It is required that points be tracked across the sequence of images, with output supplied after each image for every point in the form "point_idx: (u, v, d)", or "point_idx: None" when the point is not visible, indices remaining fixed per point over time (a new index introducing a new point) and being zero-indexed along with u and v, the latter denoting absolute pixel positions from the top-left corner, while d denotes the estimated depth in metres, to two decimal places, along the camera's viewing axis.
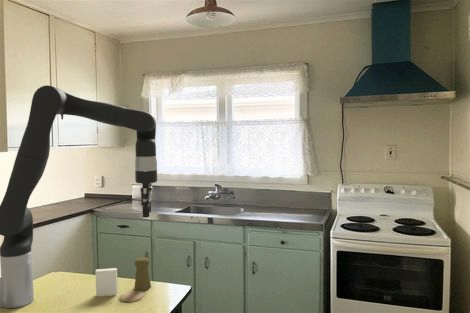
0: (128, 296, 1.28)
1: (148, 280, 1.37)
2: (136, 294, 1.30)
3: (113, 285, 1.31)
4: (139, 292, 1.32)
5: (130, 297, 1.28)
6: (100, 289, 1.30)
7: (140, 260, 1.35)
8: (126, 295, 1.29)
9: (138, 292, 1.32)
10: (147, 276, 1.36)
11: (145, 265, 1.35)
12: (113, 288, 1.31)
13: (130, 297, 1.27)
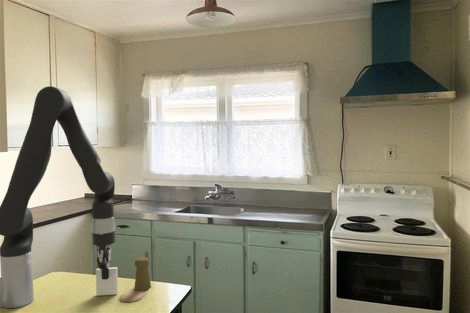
0: (128, 296, 1.28)
1: (148, 280, 1.37)
2: (136, 294, 1.30)
3: (113, 284, 1.32)
4: (139, 292, 1.32)
5: (130, 297, 1.28)
6: (100, 288, 1.31)
7: (140, 260, 1.35)
8: (126, 295, 1.29)
9: (138, 292, 1.32)
10: (147, 276, 1.36)
11: (145, 265, 1.35)
12: (113, 287, 1.31)
13: (130, 297, 1.27)
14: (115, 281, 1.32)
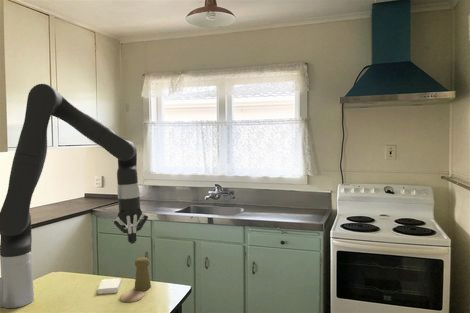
0: (128, 296, 1.28)
1: (148, 280, 1.37)
2: (136, 294, 1.30)
3: (116, 283, 1.37)
4: (139, 292, 1.32)
5: (130, 297, 1.28)
6: (103, 286, 1.35)
7: (140, 260, 1.35)
8: (126, 295, 1.29)
9: (138, 292, 1.32)
10: (147, 276, 1.36)
11: (145, 265, 1.35)
12: (115, 285, 1.36)
13: (130, 297, 1.27)
14: (118, 282, 1.38)
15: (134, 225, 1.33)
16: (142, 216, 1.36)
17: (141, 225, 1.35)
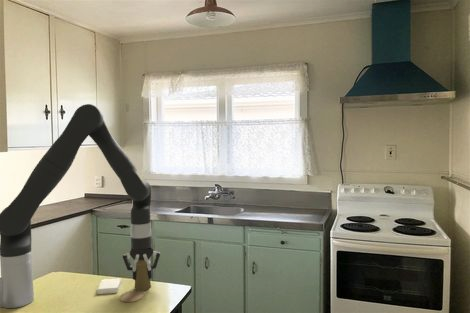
0: (128, 296, 1.28)
1: (148, 280, 1.37)
2: (136, 294, 1.30)
3: (116, 283, 1.37)
4: (139, 292, 1.32)
5: (130, 297, 1.28)
6: (103, 286, 1.35)
7: (140, 260, 1.35)
8: (126, 295, 1.29)
9: (138, 292, 1.32)
10: (147, 276, 1.36)
11: (145, 265, 1.35)
12: (115, 285, 1.36)
13: (130, 297, 1.27)
14: (118, 282, 1.38)
15: (147, 263, 1.36)
16: (154, 254, 1.37)
17: (155, 263, 1.37)
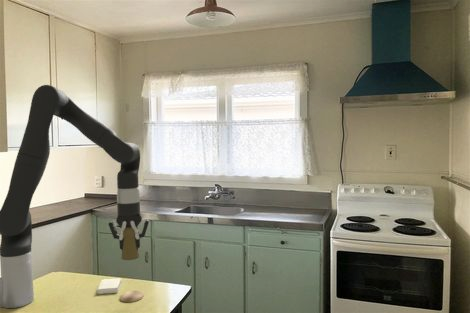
0: (128, 296, 1.28)
1: (136, 249, 1.27)
2: (136, 294, 1.30)
3: (116, 284, 1.37)
4: (139, 292, 1.32)
5: (130, 297, 1.28)
6: (103, 286, 1.35)
7: (127, 228, 1.26)
8: (126, 295, 1.29)
9: (138, 292, 1.32)
10: (135, 245, 1.27)
11: (133, 233, 1.26)
12: (115, 285, 1.36)
13: (130, 297, 1.27)
14: (118, 282, 1.38)
15: None
16: (143, 222, 1.28)
17: (144, 231, 1.28)
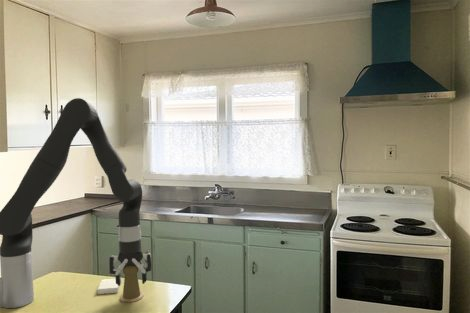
0: None
1: (137, 288, 1.28)
2: None
3: (116, 284, 1.37)
4: None
5: None
6: (103, 286, 1.35)
7: (128, 266, 1.27)
8: None
9: None
10: (136, 284, 1.28)
11: (134, 272, 1.27)
12: (115, 285, 1.36)
13: None
14: None
15: (139, 267, 1.28)
16: (145, 257, 1.29)
17: (149, 265, 1.28)
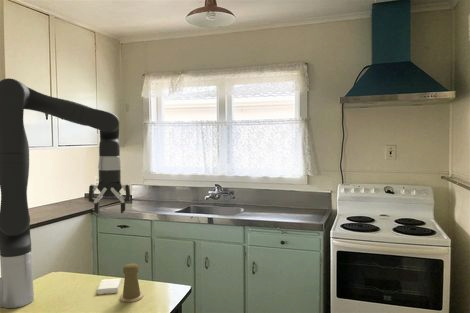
0: None
1: (137, 288, 1.28)
2: None
3: (116, 284, 1.37)
4: None
5: None
6: (103, 286, 1.35)
7: (128, 267, 1.27)
8: None
9: None
10: (136, 284, 1.28)
11: (134, 272, 1.27)
12: (115, 285, 1.35)
13: None
14: (118, 282, 1.38)
15: (118, 196, 1.33)
16: (123, 187, 1.34)
17: (127, 195, 1.34)
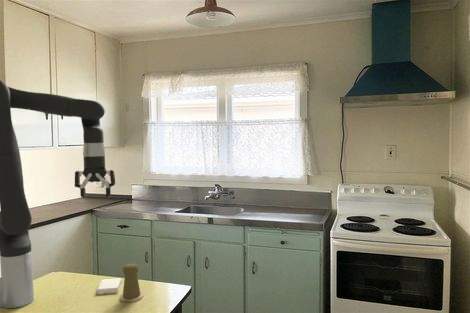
0: None
1: (137, 288, 1.28)
2: None
3: (116, 284, 1.37)
4: None
5: None
6: (103, 286, 1.35)
7: (128, 267, 1.27)
8: None
9: None
10: (136, 284, 1.28)
11: (134, 272, 1.27)
12: (115, 285, 1.35)
13: None
14: (118, 282, 1.38)
15: (103, 181, 1.39)
16: (108, 173, 1.40)
17: (112, 180, 1.40)
